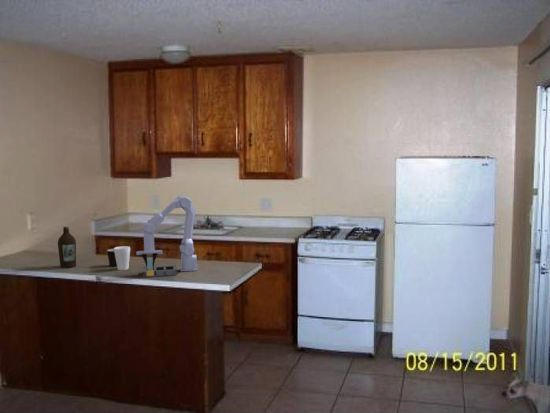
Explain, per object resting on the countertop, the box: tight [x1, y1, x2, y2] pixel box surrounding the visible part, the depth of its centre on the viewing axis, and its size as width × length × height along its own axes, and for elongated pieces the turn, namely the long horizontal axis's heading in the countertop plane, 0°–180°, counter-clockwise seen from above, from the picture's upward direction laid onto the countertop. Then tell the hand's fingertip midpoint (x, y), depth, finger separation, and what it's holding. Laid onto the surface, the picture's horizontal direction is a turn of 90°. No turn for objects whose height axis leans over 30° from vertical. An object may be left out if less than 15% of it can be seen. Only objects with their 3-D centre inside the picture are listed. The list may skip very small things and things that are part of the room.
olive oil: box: [57, 226, 77, 269], centre depth 356 cm, size 11×11×25 cm
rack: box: [142, 264, 178, 278], centre depth 333 cm, size 19×13×3 cm
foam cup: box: [113, 245, 131, 271], centre depth 348 cm, size 10×9×13 cm
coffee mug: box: [106, 248, 117, 268], centre depth 358 cm, size 12×9×10 cm
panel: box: [147, 257, 153, 271], centre depth 332 cm, size 3×8×8 cm, turn 11°
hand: (150, 266), depth 332 cm, fingers closed on panel, 3 cm apart
